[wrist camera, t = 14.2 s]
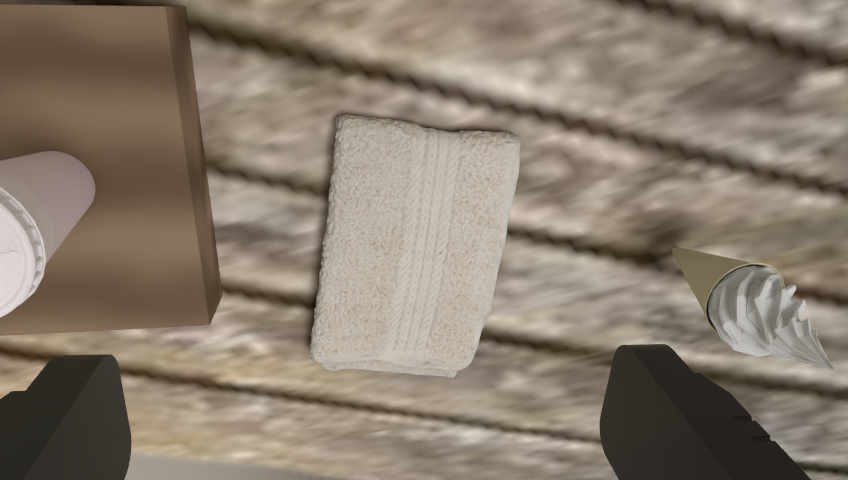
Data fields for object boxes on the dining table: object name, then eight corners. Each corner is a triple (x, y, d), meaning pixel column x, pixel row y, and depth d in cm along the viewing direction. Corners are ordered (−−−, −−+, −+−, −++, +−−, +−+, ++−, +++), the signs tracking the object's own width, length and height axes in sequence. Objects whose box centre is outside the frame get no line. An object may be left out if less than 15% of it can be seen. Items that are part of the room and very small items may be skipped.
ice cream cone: (629, 271, 42) (767, 398, 29) (661, 208, 41) (823, 310, 27) (686, 288, 44) (845, 418, 30) (719, 228, 42) (903, 335, 28)
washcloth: (308, 355, 42) (306, 380, 39) (331, 106, 36) (331, 114, 33) (467, 364, 44) (476, 388, 41) (515, 130, 38) (529, 139, 35)
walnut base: (-91, 3, 31) (-150, 2, 27) (185, 6, 32) (164, 6, 29) (-3, 305, 37) (-41, 337, 34) (222, 295, 39) (209, 324, 35)
